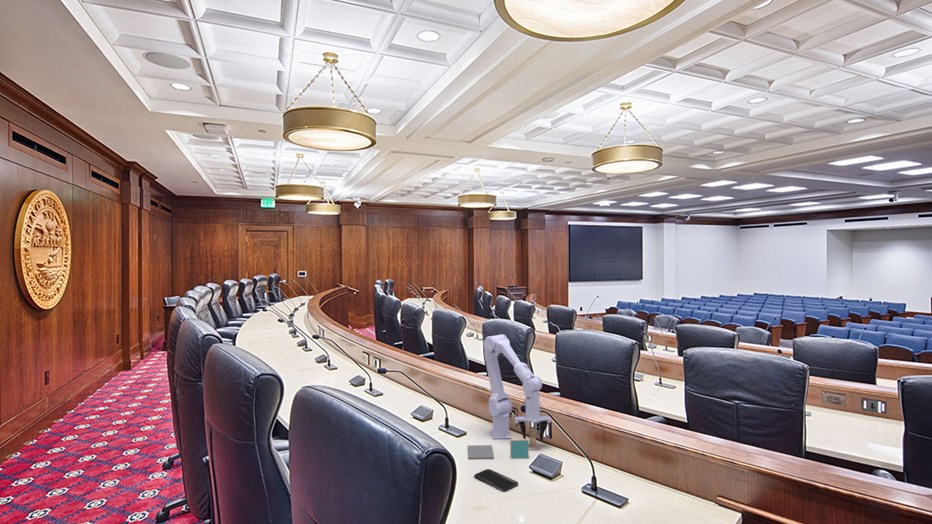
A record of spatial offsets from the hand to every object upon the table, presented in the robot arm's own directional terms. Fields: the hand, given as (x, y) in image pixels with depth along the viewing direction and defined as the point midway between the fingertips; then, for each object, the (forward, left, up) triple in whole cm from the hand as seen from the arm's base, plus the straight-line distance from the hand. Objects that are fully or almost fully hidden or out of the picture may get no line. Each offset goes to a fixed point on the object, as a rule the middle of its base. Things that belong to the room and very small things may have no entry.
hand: (532, 439), depth 185 cm
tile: (+10, -7, -3) cm, 13 cm away
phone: (+29, -18, -3) cm, 34 cm away
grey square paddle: (+1, 0, -3) cm, 3 cm away
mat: (+5, -22, -3) cm, 23 cm away
